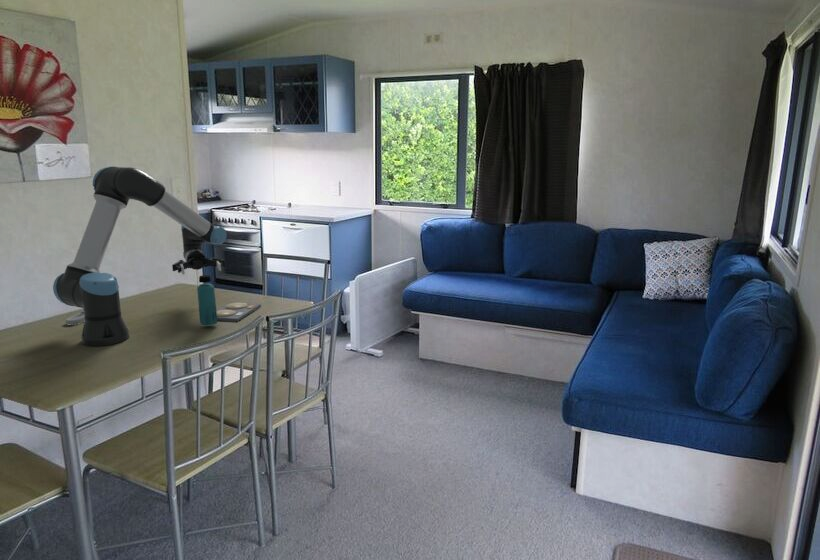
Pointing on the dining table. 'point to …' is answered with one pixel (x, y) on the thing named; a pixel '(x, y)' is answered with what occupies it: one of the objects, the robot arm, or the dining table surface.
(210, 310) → the beverage bottle
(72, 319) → the electronic device
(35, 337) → the dining table surface
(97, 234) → the robot arm
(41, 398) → the dining table surface
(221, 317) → the dark grey flat block
